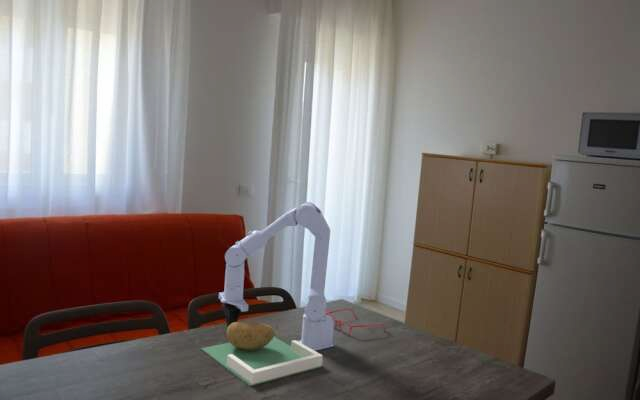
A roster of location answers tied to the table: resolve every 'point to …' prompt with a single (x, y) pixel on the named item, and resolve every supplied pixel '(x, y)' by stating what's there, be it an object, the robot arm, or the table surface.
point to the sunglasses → (347, 322)
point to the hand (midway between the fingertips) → (231, 327)
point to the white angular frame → (277, 365)
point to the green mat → (255, 356)
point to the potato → (249, 335)
